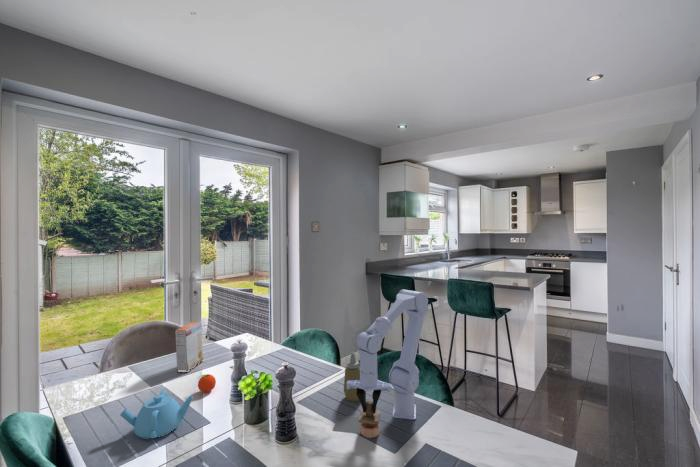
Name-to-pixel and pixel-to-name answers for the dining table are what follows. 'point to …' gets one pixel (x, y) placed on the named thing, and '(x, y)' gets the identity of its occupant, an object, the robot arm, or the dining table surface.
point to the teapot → (157, 416)
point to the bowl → (370, 429)
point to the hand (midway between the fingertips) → (369, 411)
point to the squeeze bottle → (351, 378)
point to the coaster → (347, 424)
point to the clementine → (206, 383)
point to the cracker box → (189, 345)
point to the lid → (369, 414)
